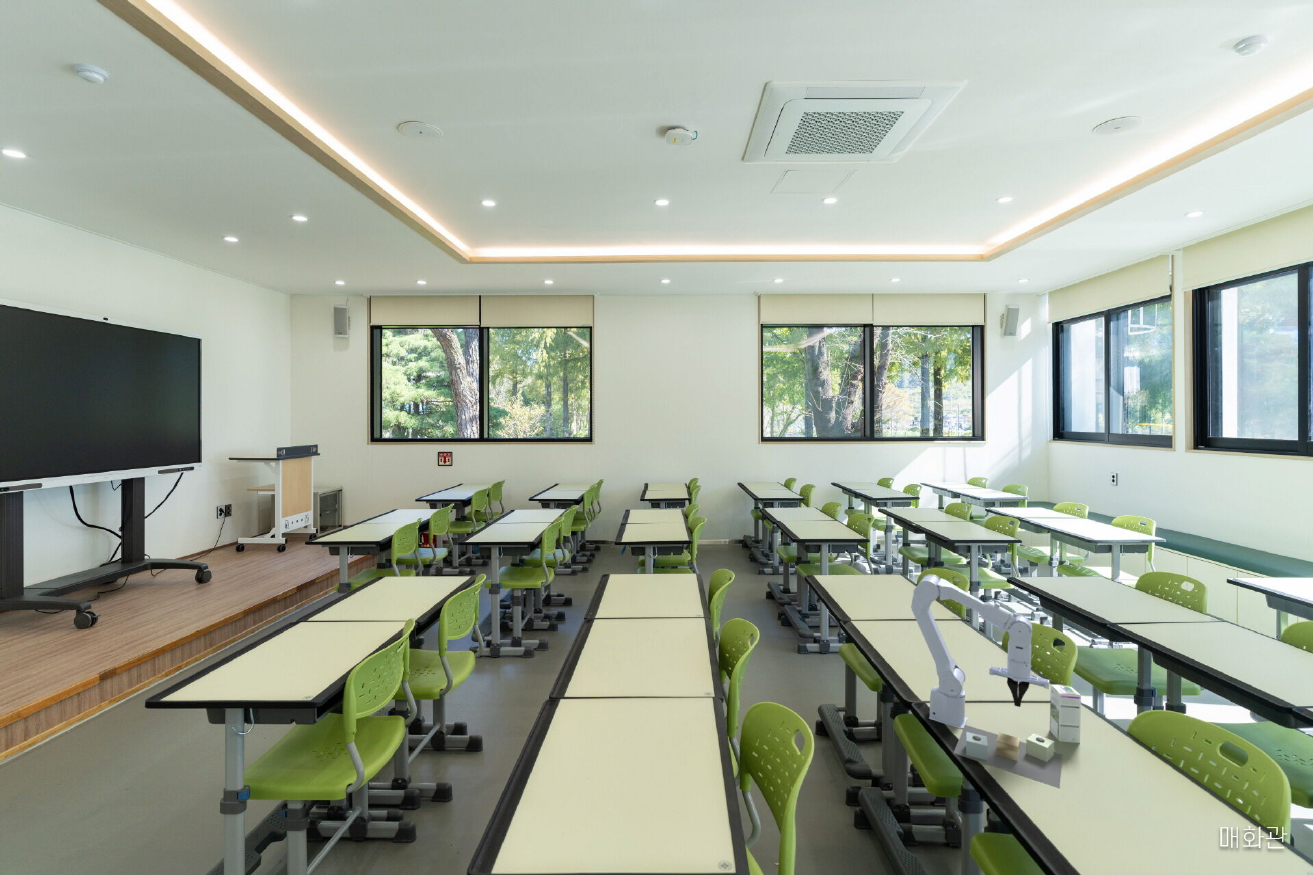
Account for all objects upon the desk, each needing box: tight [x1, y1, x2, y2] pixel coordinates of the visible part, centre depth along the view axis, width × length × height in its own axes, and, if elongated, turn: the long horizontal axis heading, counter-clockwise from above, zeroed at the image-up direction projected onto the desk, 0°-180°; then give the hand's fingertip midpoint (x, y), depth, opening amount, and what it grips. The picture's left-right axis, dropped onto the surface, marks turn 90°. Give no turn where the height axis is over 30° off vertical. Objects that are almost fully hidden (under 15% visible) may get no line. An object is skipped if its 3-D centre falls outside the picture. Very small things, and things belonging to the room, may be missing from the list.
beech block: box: [996, 732, 1021, 761], centre depth 157 cm, size 5×5×4 cm
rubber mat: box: [953, 724, 1063, 789], centre depth 157 cm, size 24×18×1 cm
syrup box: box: [1049, 684, 1082, 744], centre depth 165 cm, size 6×6×14 cm
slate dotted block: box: [966, 732, 988, 760], centre depth 157 cm, size 5×5×4 cm
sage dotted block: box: [1025, 733, 1055, 762], centre depth 157 cm, size 5×5×4 cm
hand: (1017, 704), depth 165 cm, fingers closed
